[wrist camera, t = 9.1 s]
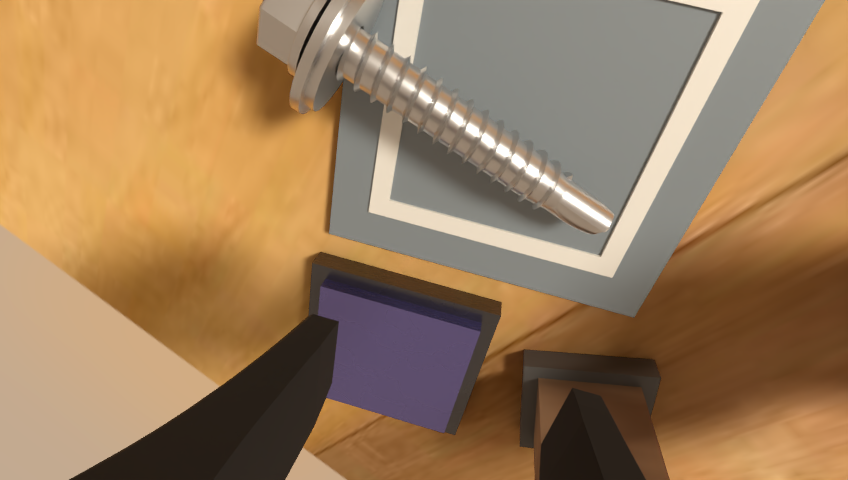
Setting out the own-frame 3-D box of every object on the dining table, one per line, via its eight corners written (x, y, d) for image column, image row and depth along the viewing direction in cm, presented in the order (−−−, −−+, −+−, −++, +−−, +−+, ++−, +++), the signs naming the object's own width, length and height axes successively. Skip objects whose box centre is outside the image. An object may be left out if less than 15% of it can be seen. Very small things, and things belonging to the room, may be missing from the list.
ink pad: (501, 302, 20) (500, 324, 19) (457, 420, 25) (453, 444, 24) (320, 251, 21) (306, 269, 20) (310, 376, 26) (298, 397, 24)
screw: (282, 60, 16) (212, 91, 12) (338, -76, 14) (274, -95, 10) (553, 239, 19) (571, 315, 15) (642, 152, 16) (693, 213, 12)
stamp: (654, 358, 20) (703, 495, 15) (633, 440, 23) (668, 580, 18) (523, 348, 22) (524, 470, 16) (520, 427, 25) (519, 554, 19)
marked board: (854, -68, 12) (870, -71, 11) (631, 310, 19) (634, 319, 19) (371, -170, 13) (365, -177, 12) (333, 228, 20) (328, 234, 20)
